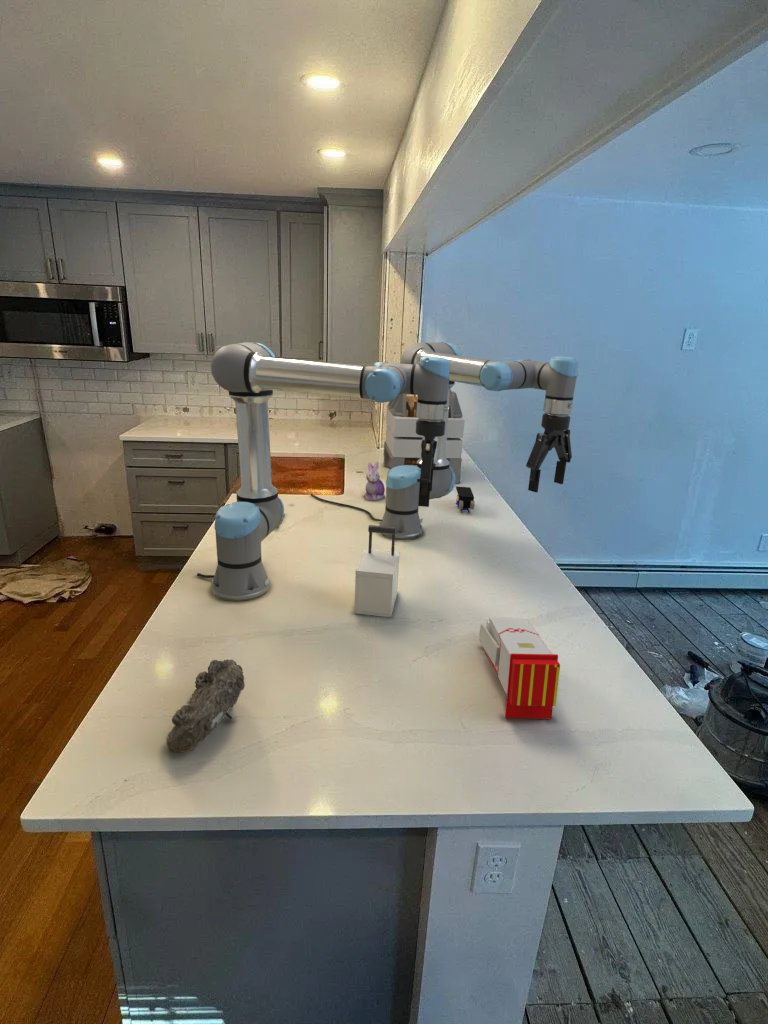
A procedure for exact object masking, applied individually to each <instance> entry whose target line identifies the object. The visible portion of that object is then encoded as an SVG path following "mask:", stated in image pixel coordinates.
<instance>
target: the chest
mask: <svg viewBox="0 0 768 1024" xmlns="http://www.w3.org/2000/svg"><path fill="white" fill-rule="evenodd" d="M399 567H400V559H399V560H398V563H397V567H396V570H395V574H394V577H393V579H389V578H379V577H369V576H360V575H356V574H355V580H354V582H355V583H354V612H353V613H354V614H356V615H357V614H358V615H364V616H365V615H367V616H376V617H384V618H391V617H392V614H393V610H394V607H395V603H396V599H397V596H398V585H399Z"/></svg>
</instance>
